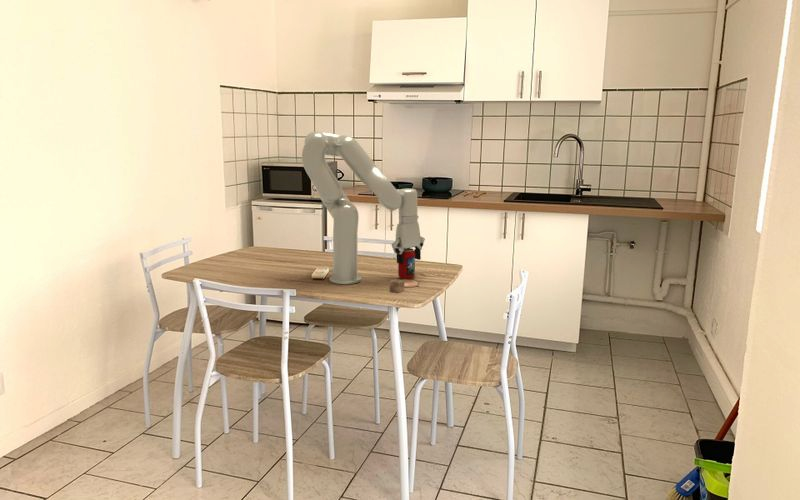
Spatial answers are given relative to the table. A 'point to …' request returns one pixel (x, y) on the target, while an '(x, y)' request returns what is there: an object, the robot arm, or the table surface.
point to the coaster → (410, 283)
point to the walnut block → (396, 285)
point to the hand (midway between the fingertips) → (408, 261)
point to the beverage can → (407, 264)
